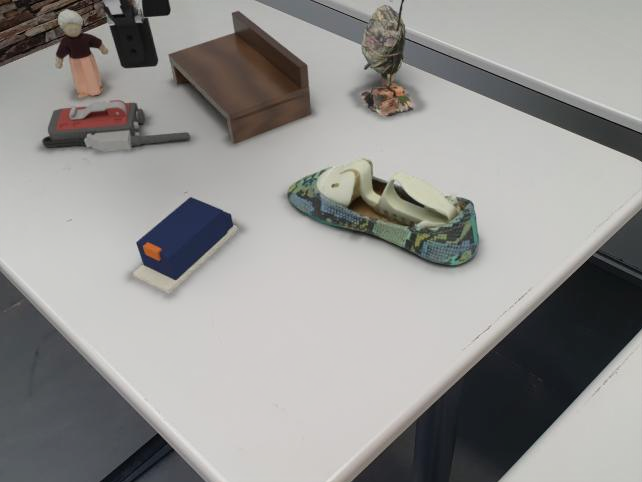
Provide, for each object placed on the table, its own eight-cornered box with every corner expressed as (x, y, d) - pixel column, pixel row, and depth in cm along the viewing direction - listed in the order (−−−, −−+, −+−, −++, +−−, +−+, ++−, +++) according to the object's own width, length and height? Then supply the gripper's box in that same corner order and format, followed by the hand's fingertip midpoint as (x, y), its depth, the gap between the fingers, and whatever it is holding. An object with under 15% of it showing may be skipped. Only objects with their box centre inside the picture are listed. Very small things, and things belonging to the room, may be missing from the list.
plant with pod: (401, 76, 103) (406, -71, 88) (424, 116, 95) (433, -37, 80) (347, 84, 102) (343, -62, 87) (366, 125, 94) (366, -27, 79)
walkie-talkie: (42, 162, 93) (191, 149, 93) (30, 133, 89) (184, 120, 90) (54, 125, 98) (194, 113, 99) (43, 97, 95) (188, 85, 95)
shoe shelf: (234, 148, 92) (225, 94, 86) (175, 85, 104) (163, 33, 98) (311, 119, 96) (307, 64, 90) (245, 61, 108) (238, 10, 102)
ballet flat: (310, 176, 88) (306, 119, 81) (493, 234, 79) (503, 175, 73) (273, 216, 83) (265, 159, 77) (462, 282, 74) (471, 224, 68)
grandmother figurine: (76, 109, 101) (46, 23, 92) (65, 99, 103) (34, 14, 94) (123, 90, 104) (98, 5, 95) (111, 80, 106) (86, -4, 97)
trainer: (170, 297, 75) (160, 265, 71) (135, 280, 77) (123, 247, 73) (238, 234, 81) (232, 200, 77) (204, 219, 83) (197, 186, 79)
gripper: (64, -211, 56) (122, 1, 69) (7, -150, 45) (89, 91, 58) (155, -219, 56) (196, -5, 69) (122, -159, 45) (179, 85, 58)
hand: (148, 39), depth 63 cm, fingers open, 9 cm apart
